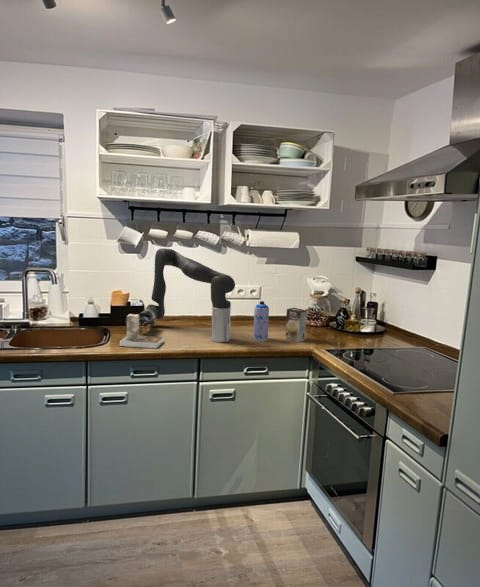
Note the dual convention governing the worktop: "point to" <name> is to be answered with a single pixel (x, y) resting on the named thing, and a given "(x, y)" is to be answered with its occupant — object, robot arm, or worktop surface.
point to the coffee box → (296, 324)
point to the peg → (133, 327)
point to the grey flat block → (143, 342)
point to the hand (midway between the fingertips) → (136, 324)
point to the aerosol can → (261, 322)
